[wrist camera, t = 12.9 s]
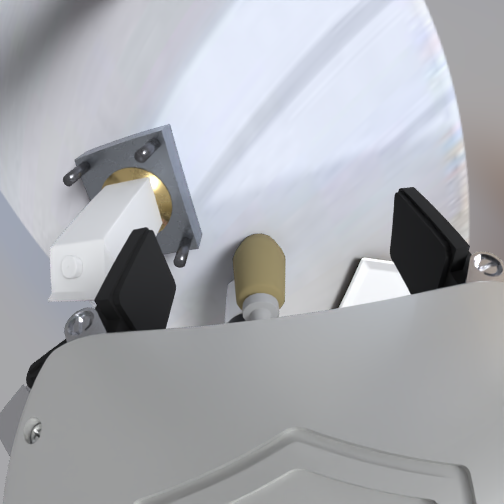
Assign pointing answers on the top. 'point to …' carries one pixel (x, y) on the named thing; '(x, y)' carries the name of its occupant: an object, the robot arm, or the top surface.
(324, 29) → the top surface
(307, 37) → the top surface
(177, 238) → the grey pegged base
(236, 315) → the jar
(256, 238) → the squeeze bottle
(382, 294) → the plate
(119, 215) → the milk carton
